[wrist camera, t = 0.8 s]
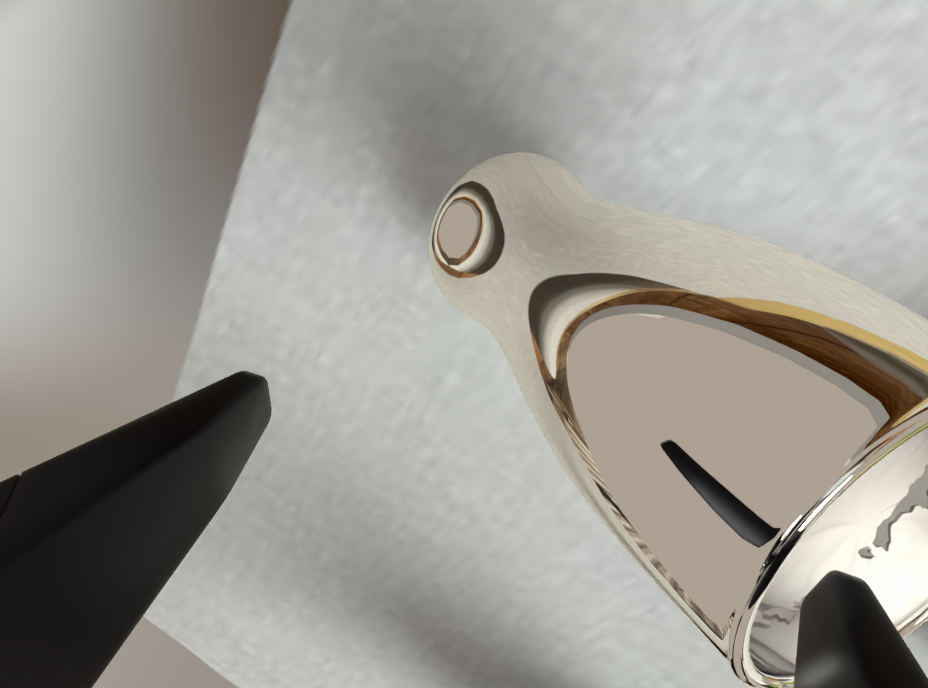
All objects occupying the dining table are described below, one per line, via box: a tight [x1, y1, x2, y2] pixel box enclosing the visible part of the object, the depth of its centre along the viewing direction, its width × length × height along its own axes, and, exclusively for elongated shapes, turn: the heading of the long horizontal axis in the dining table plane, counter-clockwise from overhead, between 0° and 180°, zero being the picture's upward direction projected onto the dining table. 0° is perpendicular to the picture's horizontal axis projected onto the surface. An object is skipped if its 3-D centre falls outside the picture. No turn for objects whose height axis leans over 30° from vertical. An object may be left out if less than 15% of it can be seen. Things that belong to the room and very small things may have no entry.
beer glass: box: [428, 152, 928, 688], centre depth 16 cm, size 7×7×15 cm
